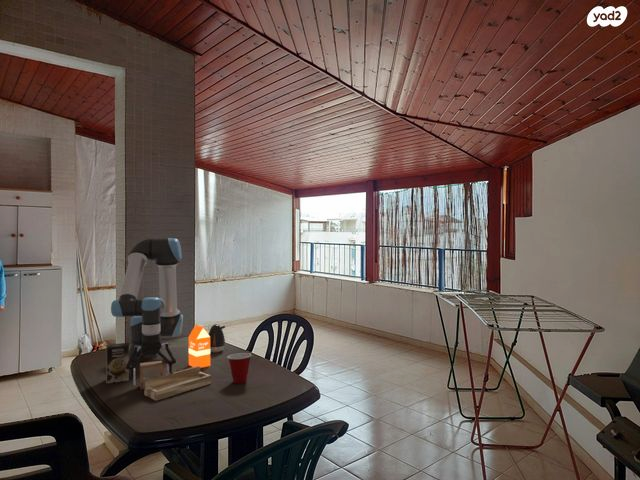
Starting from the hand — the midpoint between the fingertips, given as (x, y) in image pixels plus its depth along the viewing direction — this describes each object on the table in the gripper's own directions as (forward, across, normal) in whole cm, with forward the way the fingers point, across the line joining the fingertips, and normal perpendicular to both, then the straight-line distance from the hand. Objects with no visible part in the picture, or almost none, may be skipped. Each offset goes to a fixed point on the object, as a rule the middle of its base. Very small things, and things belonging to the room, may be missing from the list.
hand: (151, 382), depth 186 cm
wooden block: (+2, 0, 0) cm, 2 cm away
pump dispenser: (+2, +37, +45) cm, 58 cm away
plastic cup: (+2, +36, -10) cm, 38 cm away
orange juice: (+2, +24, +22) cm, 33 cm away
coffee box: (+2, -14, +15) cm, 20 cm away
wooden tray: (+2, +10, -8) cm, 14 cm away
